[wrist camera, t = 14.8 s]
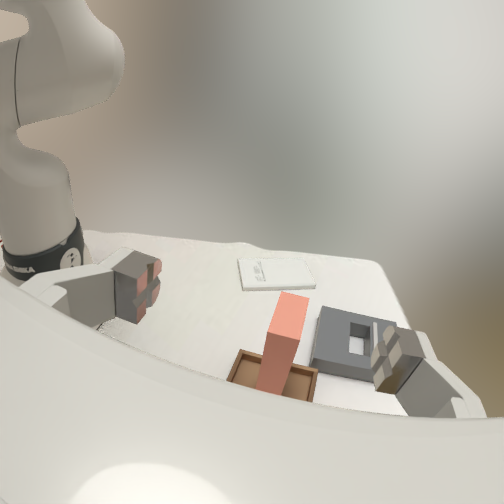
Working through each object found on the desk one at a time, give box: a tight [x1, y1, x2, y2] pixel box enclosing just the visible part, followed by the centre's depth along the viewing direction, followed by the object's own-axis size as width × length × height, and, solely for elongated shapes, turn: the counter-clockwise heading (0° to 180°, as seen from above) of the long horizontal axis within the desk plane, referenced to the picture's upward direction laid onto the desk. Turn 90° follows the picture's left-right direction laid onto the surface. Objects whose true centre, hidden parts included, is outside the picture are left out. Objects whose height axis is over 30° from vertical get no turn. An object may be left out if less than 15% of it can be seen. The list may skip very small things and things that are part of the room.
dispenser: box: [309, 306, 397, 382], centre depth 37 cm, size 12×10×3 cm
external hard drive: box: [238, 258, 316, 291], centre depth 52 cm, size 2×8×12 cm
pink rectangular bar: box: [256, 291, 309, 396], centre depth 27 cm, size 2×5×14 cm, turn 164°
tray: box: [226, 349, 318, 402], centre depth 31 cm, size 10×10×2 cm
